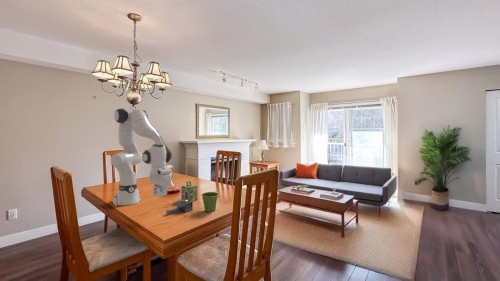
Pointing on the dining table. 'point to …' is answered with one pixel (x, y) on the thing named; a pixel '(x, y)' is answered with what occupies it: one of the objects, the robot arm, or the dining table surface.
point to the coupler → (181, 207)
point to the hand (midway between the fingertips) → (160, 191)
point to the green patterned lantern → (189, 192)
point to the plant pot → (210, 201)
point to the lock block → (159, 191)
